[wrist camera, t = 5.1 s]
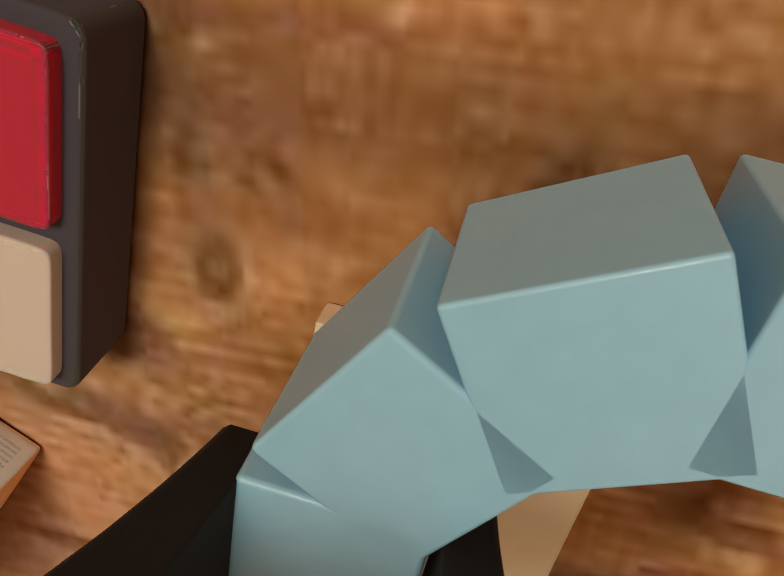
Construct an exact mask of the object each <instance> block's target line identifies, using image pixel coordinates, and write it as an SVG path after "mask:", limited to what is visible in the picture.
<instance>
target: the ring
mask: <svg viewBox="0 0 784 576" xmlns="http://www.w3.org/2000/svg"><path fill="white" fill-rule="evenodd" d="M718 479H720V480H723V481H727V482H730V483H734V484H737V485H740V486H744V487H747V488H751V489H754V490H758V491H761V492H764V493H768V494H771V495H775V496H778V497H781V498H784V164H782V163H778V162H774V161H770V160H766V159H762V158H758V157H754V156H750V155H742V156H741V157H740V158H739V160H738V162H737V164H736V166H735V168H734V170H733V172H732V174H731V176H730V178H729V180H728V182H727V184H726V186H725V188H724V190H723V192H722V195H721V197H720V199H719V201H718V203H717V205H716V207H715V209H714V208H713V205H712V203H711V201H710V199H709V197H708V195H707V192H706V190H705V188H704V186H703V184H702V182H701V179H700V177H699V175H698V173H697V171H696V169H695V166H694V164H693V162H692V160H691V158H690V157H689V155H681V156H677V157H672V158H668V159H664V160H659V161H655V162H651V163H646V164H642V165H638V166H633V167H629V168H625V169H620V170H616V171H612V172H607V173H603V174H599V175H594V176H590V177H586V178H581V179H577V180H573V181H569V182H564V183H560V184H556V185H551V186H547V187H543V188H538V189H534V190H530V191H525V192H521V193H517V194H512V195H508V196H504V197H499V198H495V199H491V200H486V201H482V202H478V203H473V204H470V205H469V206H468V207H467V210H466V213H465V217H464V220H463V223H462V226H461V229H460V233H459V236H458V239H457V242H456V246H454V245H453V244H451V243H450V242H449V241H448V240H447V239H446V238H445V237H444V236H443V235H442V234H440V233H439V232H438V231H437V230H436V229H435V228H433V227H428V228H426V229H425V230H424V231H423V232H422V233H421V234H420V235H419V236H418V237H416V238H415V239H414V240H413V241H412V242H411V243H410V244H409V245H408V246H407V247H406V248H405V249H404V250H403V251H402V252H401V253H399V254H398V255H397V256H396V257H395V258H394V259H393V260H392V261H391V262H390V263H389V264H388V265H387V266H386V267H385V268H384V269H383V270H381V271H380V272H379V273H378V274H377V275H376V276H375V277H374V278H373V279H372V280H371V281H370V282H369V283H368V284H367V285H366V286H364V287H363V288H362V289H361V290H360V291H359V292H358V293H357V294H356V295H355V296H354V297H353V298H352V299H351V300H350V301H349V302H348V303H346V304H345V305H344V306H343V307H342V308H341V309H340V310H339V311H338V312H337V313H336V314H335V315H334V316H333V317H332V318H331V319H329V320H328V321H327V322H326V323H325V324H324V325H323V326H322V327H321V328H320V329H319V330H318V331H317V332H316V333H315V334H314V336H313V338H312V340H311V341H310V343H309V345H308V347H307V349H306V350H305V352H304V354H303V356H302V357H301V359H300V361H299V363H298V364H297V366H296V368H295V370H294V372H293V373H292V375H291V377H290V379H289V380H288V382H287V384H286V386H285V387H284V389H283V391H282V393H281V395H280V396H279V398H278V400H277V402H276V403H275V405H274V407H273V409H272V411H271V412H270V414H269V416H268V418H267V419H266V421H265V423H264V425H263V426H262V428H261V430H260V432H259V434H258V435H257V437H256V439H255V441H254V442H253V446H252V449H251V451H250V453H249V454H248V456H247V458H246V460H245V462H244V463H243V465H242V467H241V469H240V471H239V472H238V474H237V476H236V480H237V486H236V497H235V508H234V519H233V530H232V541H231V552H230V564H229V575H228V576H422V574H423V571H424V568H425V565H426V562H427V559H428V556H429V555H430V554H431V553H433V552H435V551H436V550H438V549H440V548H442V547H443V546H445V545H447V544H449V543H450V542H452V541H454V540H456V539H457V538H459V537H461V536H462V535H464V534H466V533H468V532H469V531H471V530H473V529H475V528H476V527H478V526H480V525H481V524H483V523H485V522H487V521H488V520H490V519H492V518H494V517H495V516H497V515H499V514H501V513H502V512H504V511H506V510H507V509H509V508H511V507H513V506H514V505H516V504H518V503H520V502H521V501H523V500H525V499H527V498H528V497H530V496H532V495H533V494H538V493H551V492H564V491H577V490H590V489H603V488H615V487H628V486H641V485H654V484H667V483H680V482H692V481H705V480H718Z"/></svg>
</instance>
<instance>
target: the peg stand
mask: <svg viewBox="0 0 784 576" xmlns="http://www.w3.org/2000/svg"><path fill="white" fill-rule="evenodd" d="M342 307H343V306H340V305H336V304H333V303H327V304H326V306H325V307H324V309H323V311H322V312H321V314H320V316H319V318H318V319H317V321H316V323H315V329H314V334H315V333H316V332H317V331H318V330H319V329H320V328H321V327H322V326H323V325H324V324H325V323H326V322H327V321H328V320H329V319H331V318H332V317H333V316H334V315H335V314H336V313H337V312H338V311H339V310H340V309H341V308H342ZM313 336H314V335H313ZM589 491H590V490H577V491H564V492H551V493H538V494H533V495H532V496H530V497H528V498H527V499H525V500H523V501H521V502H520V503H518V504H516V505H514V506H513V507H511V508H509V509H507V510H506V511H504V512H502V513H501V514H499V515H497V520H498V532H499V542H500V550H501V557H502V564H503V570H504V576H548V575H549V573H550V571H551V569H552V567H553V565H554V563H555V561H556V558H557V556H558V554H559V552H560V550H561V548H562V546H563V544H564V542H565V540H566V538H567V536H568V534H569V532H570V530H571V528H572V526H573V524H574V522H575V520H576V518H577V516H578V514H579V512H580V510H581V508H582V506H583V504H584V501H585V499H586V497H587V495H588V493H589Z"/></svg>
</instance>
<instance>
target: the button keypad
mask: <svg viewBox="0 0 784 576" xmlns="http://www.w3.org/2000/svg"><path fill="white" fill-rule="evenodd" d="M144 32H145V16H144V12H143V9H142V7H141V6H140V4H139V3H138V2H137V1H136V0H0V370H1V371H4V372H7V373H10V374H13V375H16V376H19V377H22V378H25V379H28V380H32V381H35V382H38V383H43V384H49V383H50V382H52V383H55V384H58V385H61V386H65V387H74V386H76V385H78V384H79V383H80V382H81V381H82V380H83V379H84V377H85V376H86V375H87V374H88V373H89V372H90V371H91V370H92V368H93V367H94V366H95V365H96V364H97V363H98V362H99V360H100V359H101V358H102V357H103V356H104V355H105V354H106V352H107V351H108V350H109V349H110V348H111V347H112V346H113V344H114V343H115V342H116V341H117V340H118V339H119V337H120V336H121V335H122V334H123V332H124V330H125V325H126V311H127V295H128V280H129V264H130V249H131V233H132V218H133V202H134V187H135V171H136V156H137V140H138V125H139V109H140V94H141V78H142V63H143V47H144Z"/></svg>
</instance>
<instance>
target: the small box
mask: <svg viewBox="0 0 784 576" xmlns="http://www.w3.org/2000/svg"><path fill="white" fill-rule="evenodd" d="M39 451H40V447H39V446H38V445H37V444H35V443H34V442H32V441H31V440H29V439H28V438H26V437H25V436H23V435H22V434H20V433H19V432H17V431H16V430H14V429H12V428H11V427H9V426H8V425H6V424H5V423H3V422H2V421H0V509H1V507H2V506H3V504H4V503H5V502H6V500H7V499H8V497H9V496H10V494H11V493H12V491H13V490H14V489H15V487H16V486H17V484H18V483H19V481H20V480H21V478H22V477H23V475H24V473H25V472H26V470H27V469H28V468H29V466H30V465H31V463H32V462H33V460H34V459H35V457H36V456H37V454H38V453H39Z"/></svg>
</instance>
